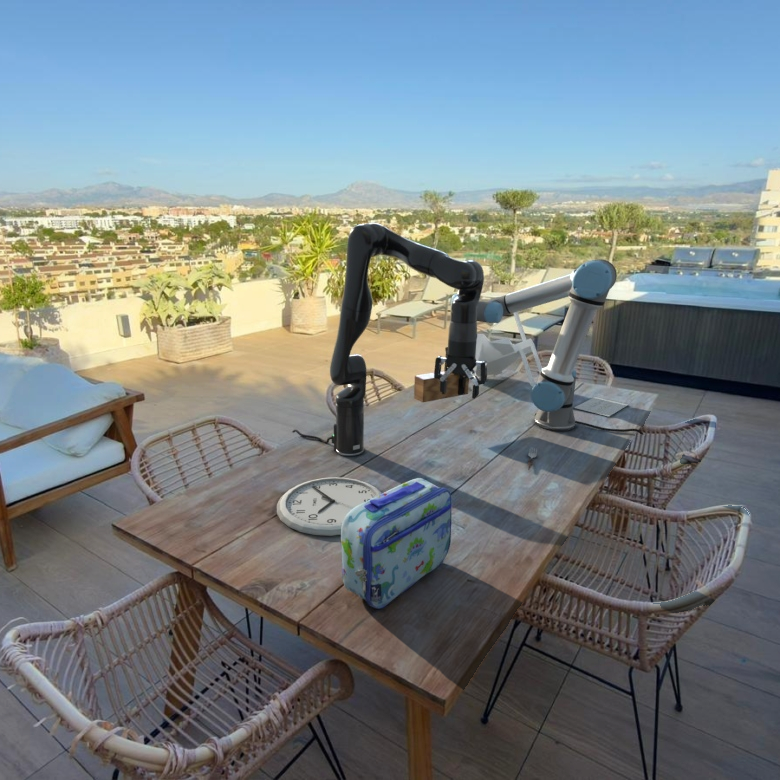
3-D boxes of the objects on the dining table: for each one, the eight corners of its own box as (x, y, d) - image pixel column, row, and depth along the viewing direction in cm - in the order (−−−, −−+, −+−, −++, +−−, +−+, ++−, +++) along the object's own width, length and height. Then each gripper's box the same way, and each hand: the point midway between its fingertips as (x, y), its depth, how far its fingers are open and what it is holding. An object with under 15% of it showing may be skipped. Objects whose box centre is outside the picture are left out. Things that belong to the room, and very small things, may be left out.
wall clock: (392, 527, 129) (268, 531, 127) (391, 533, 130) (269, 537, 127) (383, 473, 158) (282, 475, 155) (383, 478, 158) (282, 480, 156)
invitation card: (608, 416, 214) (573, 407, 224) (608, 416, 214) (573, 408, 224) (628, 404, 229) (594, 396, 238) (628, 405, 229) (594, 397, 238)
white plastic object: (482, 419, 265) (461, 396, 241) (463, 346, 287) (443, 319, 263) (553, 395, 253) (539, 368, 228) (528, 321, 275) (513, 290, 250)
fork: (524, 470, 165) (524, 465, 164) (529, 451, 179) (529, 446, 179) (532, 472, 164) (533, 466, 163) (537, 452, 178) (537, 447, 178)
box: (458, 390, 213) (459, 368, 210) (468, 394, 208) (469, 372, 205) (414, 398, 202) (414, 375, 199) (422, 402, 197) (423, 379, 194)
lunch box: (370, 622, 101) (370, 527, 94) (335, 595, 108) (333, 505, 102) (455, 565, 118) (460, 481, 112) (420, 544, 125) (423, 465, 119)
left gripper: (432, 338, 138) (430, 396, 143) (486, 343, 133) (481, 403, 138) (440, 333, 145) (438, 388, 150) (491, 337, 140) (487, 395, 145)
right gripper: (436, 331, 207) (434, 387, 214) (467, 340, 192) (463, 400, 199) (451, 329, 211) (448, 384, 218) (482, 338, 195) (478, 397, 202)
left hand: (459, 395), depth 144 cm, fingers open, 8 cm apart
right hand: (455, 391), depth 208 cm, fingers closed on box, 6 cm apart
